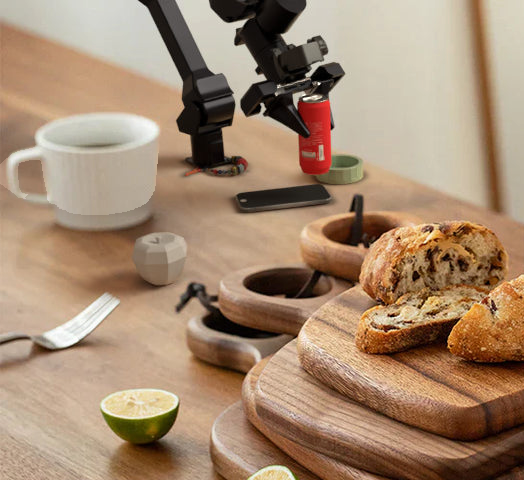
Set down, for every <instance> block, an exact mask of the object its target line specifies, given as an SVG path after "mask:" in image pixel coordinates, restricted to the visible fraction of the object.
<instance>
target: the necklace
mask: <svg viewBox="0 0 524 480" xmlns="http://www.w3.org/2000/svg"><path fill="white" fill-rule="evenodd" d="M225 160H226V158H225ZM227 160H232V163H231V164H236V166H234V167H232V168H230V169H227V170H226V169H219V170H218V169H217V168H214V169H211V168H207V169H205V168H204V169H199V167H195V168H194V169H192V170H191V171H188V172H186V173H185V174H184V176H185V177H187V176H189V175H193V174H196V173H201V172H209V173H212V174H214V175H230V174H231V175H232V176H236V175H240V174H242V173H243V172H244V171H246V170H247V169H248V165H249V163H248V161H247V159H246V158H244V157H243V156H241V155H231V157H228V158H227Z"/></svg>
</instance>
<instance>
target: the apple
mask: <svg viewBox="0 0 524 480" xmlns="http://www.w3.org/2000/svg"><path fill="white" fill-rule="evenodd" d="M133 245H134V246H133V248H132V250H133V251H132V254H131V255H132V256H131V260H132V262H133V263H132V264H134V267H135V270H136V271H137V273H138V274H139V275H140V276H141V278H143V280H145V281H146V282H148V283H150V284H151V285H154V286H168V285H170V284H172V283H174V282H177V281H178V279H180V277H181V275H182V272H183V271H184V267H185V262H186V260H187V259H186V258H187V255H188V245H187V242H186V240H185V238H184V237H182V236H180V235H178V234H177V233H176V234H175V233H173V232H170V231H166V232H165V231H163V232H150V233H148V234H145V235H143V236H140V237H138V238H136V239H135V243H134V244H133Z"/></svg>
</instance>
